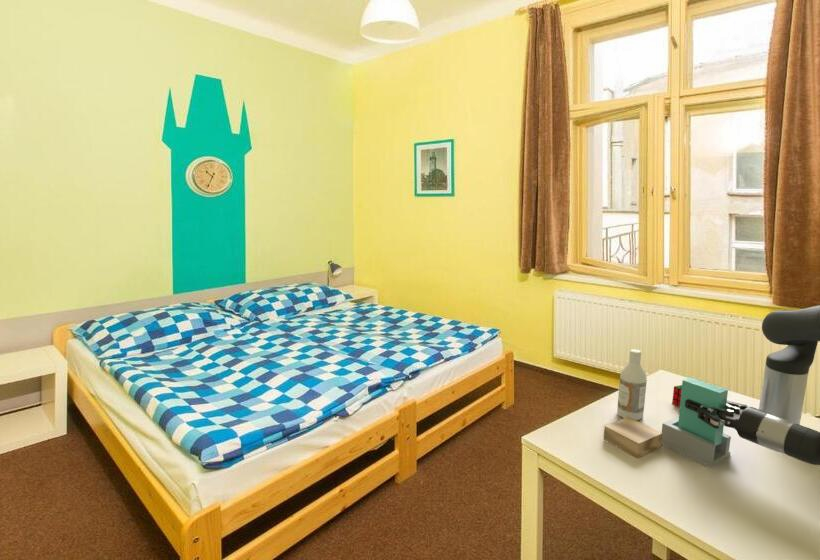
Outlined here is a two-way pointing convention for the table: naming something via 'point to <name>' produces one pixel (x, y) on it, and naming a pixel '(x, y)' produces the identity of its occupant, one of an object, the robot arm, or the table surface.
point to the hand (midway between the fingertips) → (691, 401)
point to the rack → (693, 444)
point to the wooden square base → (632, 437)
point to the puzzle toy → (677, 395)
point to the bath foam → (632, 388)
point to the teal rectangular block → (704, 396)
